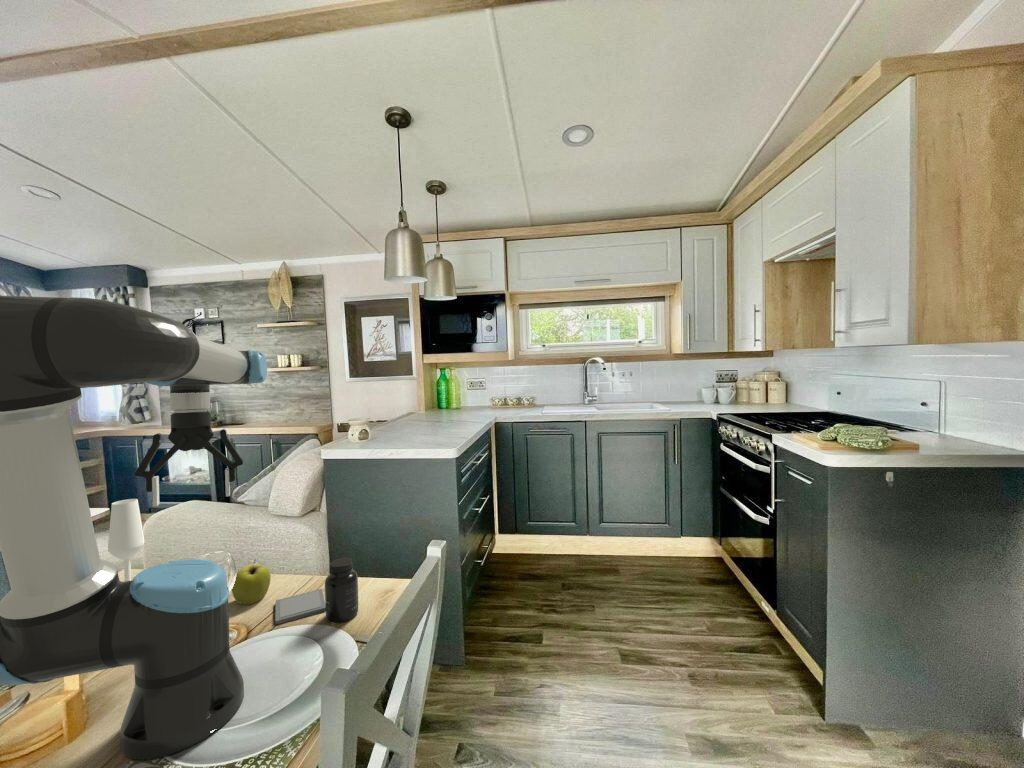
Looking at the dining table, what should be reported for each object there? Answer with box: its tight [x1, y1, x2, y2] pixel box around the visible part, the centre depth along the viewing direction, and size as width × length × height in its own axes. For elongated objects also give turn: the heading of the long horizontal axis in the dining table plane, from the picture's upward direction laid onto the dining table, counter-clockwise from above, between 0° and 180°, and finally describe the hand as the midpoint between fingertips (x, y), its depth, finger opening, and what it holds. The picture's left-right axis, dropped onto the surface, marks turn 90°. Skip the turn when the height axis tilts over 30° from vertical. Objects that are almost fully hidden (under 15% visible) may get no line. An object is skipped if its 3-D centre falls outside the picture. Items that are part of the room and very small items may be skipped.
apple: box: [231, 558, 271, 606], centre depth 99 cm, size 8×8×10 cm
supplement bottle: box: [324, 557, 359, 624], centre depth 92 cm, size 7×7×12 cm
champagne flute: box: [107, 498, 145, 582], centre depth 102 cm, size 7×7×24 cm
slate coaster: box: [274, 588, 326, 626], centre depth 96 cm, size 10×10×1 cm
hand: (193, 500), depth 98 cm, fingers open, 13 cm apart
